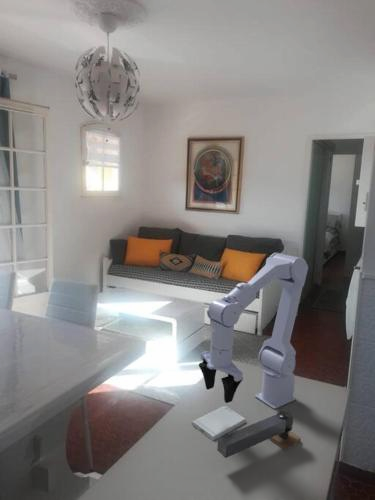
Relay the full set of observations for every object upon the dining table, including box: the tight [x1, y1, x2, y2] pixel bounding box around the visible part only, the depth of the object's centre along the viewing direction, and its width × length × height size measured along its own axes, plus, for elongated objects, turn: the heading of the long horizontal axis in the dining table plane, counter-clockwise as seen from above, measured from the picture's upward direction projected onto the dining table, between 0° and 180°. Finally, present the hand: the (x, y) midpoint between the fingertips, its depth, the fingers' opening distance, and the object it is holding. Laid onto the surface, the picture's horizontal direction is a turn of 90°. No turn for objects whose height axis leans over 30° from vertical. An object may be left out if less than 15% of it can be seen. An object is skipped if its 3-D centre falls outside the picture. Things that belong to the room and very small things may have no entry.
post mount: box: [268, 430, 302, 451], centre depth 97 cm, size 6×6×3 cm
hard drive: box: [191, 405, 247, 441], centre depth 103 cm, size 2×8×12 cm
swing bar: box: [216, 410, 294, 459], centre depth 91 cm, size 22×4×3 cm, turn 123°
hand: (218, 394), depth 101 cm, fingers open, 7 cm apart
